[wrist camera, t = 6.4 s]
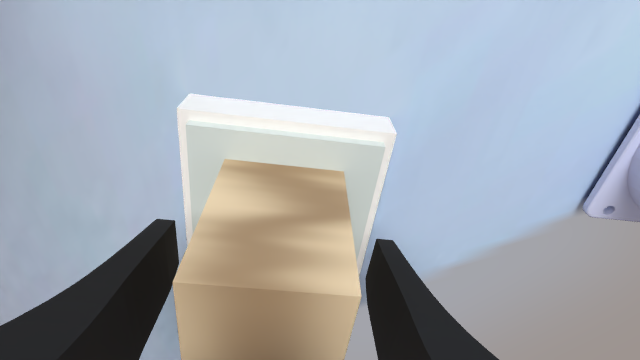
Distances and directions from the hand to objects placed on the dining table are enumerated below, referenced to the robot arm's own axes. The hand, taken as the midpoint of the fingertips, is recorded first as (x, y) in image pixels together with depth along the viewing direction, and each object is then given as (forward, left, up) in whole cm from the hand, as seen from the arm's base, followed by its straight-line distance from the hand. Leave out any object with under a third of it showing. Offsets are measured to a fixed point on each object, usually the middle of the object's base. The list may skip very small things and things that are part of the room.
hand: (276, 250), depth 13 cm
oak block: (0, 0, -2) cm, 2 cm away
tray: (0, 0, -4) cm, 4 cm away
